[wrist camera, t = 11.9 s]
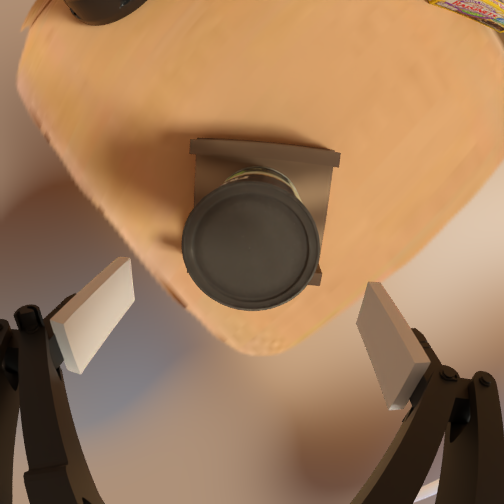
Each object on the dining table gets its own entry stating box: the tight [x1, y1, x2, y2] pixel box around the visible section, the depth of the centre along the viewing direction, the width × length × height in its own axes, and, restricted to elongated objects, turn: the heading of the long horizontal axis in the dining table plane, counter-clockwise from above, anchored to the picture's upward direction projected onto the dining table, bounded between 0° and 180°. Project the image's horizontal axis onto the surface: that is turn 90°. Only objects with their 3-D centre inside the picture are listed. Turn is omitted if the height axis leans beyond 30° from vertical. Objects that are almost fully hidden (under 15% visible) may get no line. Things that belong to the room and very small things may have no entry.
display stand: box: [187, 138, 341, 286], centre depth 34 cm, size 16×16×5 cm
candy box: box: [428, 0, 504, 33], centre depth 18 cm, size 16×2×8 cm, turn 94°
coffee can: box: [182, 166, 320, 311], centre depth 28 cm, size 10×10×14 cm
